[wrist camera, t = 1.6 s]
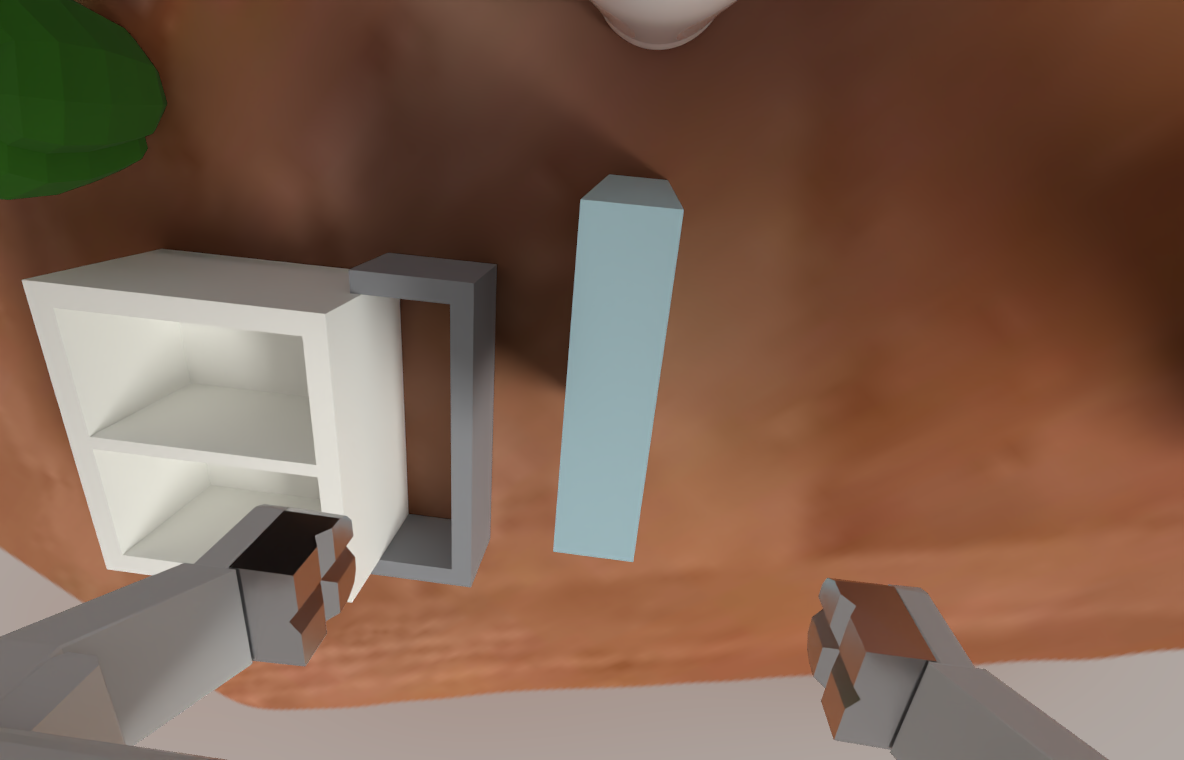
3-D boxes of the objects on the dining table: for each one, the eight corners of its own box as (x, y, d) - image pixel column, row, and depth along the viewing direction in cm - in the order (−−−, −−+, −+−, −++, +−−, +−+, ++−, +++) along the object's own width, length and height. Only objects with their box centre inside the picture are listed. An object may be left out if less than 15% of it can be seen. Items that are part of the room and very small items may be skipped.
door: (667, 179, 26) (683, 209, 14) (638, 405, 30) (633, 561, 19) (608, 174, 26) (580, 199, 15) (587, 399, 30) (553, 551, 19)
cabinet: (496, 264, 28) (451, 301, 21) (490, 538, 34) (453, 632, 27) (157, 227, 28) (13, 253, 22) (211, 502, 35) (112, 585, 28)
